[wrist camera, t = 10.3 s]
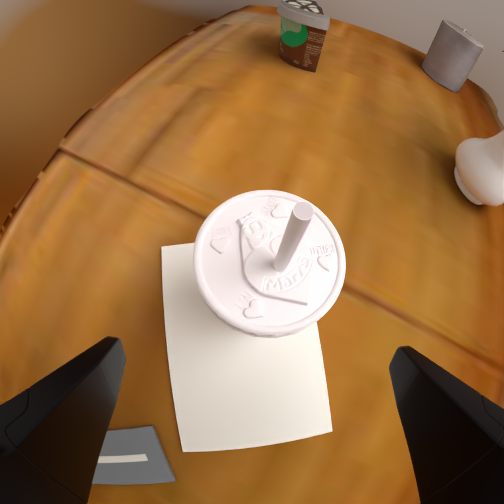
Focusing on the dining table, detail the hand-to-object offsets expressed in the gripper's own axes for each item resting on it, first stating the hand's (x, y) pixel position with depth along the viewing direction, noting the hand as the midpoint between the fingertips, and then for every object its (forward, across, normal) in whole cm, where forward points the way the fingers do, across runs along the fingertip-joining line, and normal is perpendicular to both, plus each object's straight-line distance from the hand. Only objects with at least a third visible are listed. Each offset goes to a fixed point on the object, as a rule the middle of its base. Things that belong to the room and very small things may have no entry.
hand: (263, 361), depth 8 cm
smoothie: (+11, 0, +5) cm, 12 cm away
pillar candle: (+43, -38, -27) cm, 63 cm away
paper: (+9, 0, +8) cm, 12 cm away
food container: (+37, -5, -21) cm, 43 cm away
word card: (+2, +10, +15) cm, 18 cm away
